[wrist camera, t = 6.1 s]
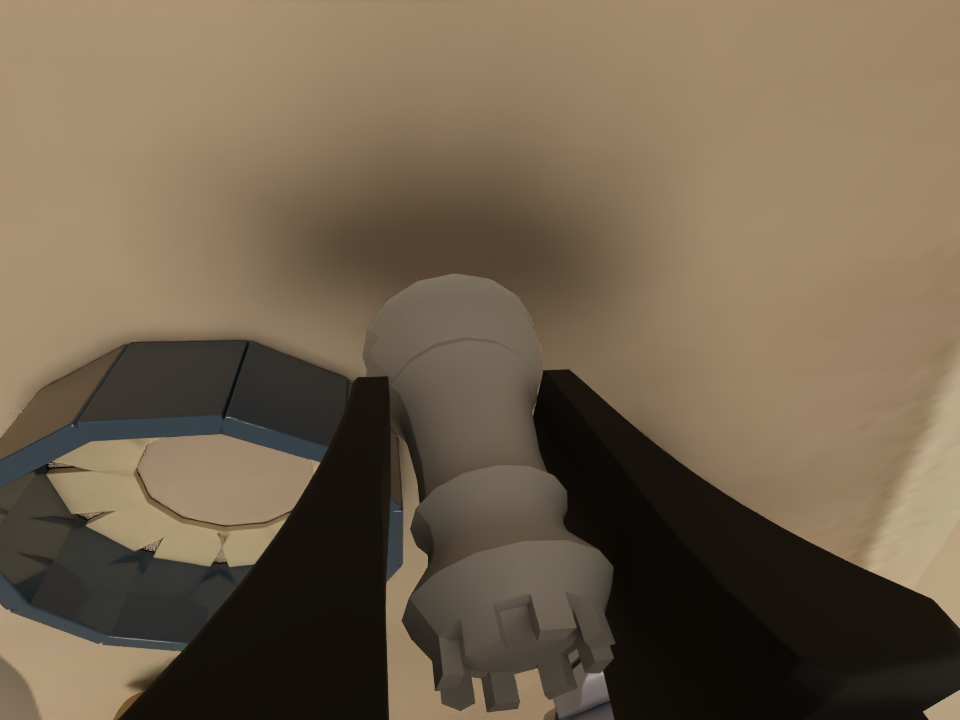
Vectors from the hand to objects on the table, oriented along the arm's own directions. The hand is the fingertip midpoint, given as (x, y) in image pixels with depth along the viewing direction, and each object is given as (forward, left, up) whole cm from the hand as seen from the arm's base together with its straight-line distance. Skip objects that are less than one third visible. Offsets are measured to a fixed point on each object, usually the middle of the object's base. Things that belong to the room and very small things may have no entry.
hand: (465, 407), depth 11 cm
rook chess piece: (0, 0, -3) cm, 3 cm away
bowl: (+2, +13, -8) cm, 16 cm away
